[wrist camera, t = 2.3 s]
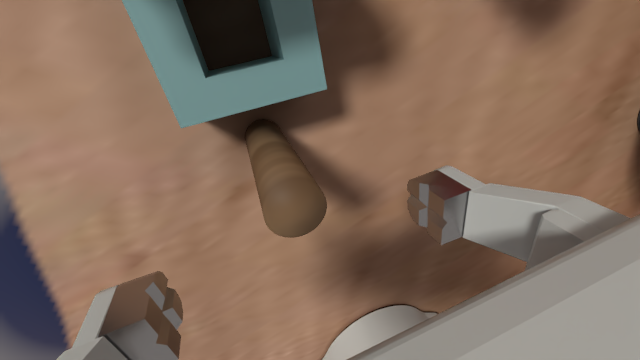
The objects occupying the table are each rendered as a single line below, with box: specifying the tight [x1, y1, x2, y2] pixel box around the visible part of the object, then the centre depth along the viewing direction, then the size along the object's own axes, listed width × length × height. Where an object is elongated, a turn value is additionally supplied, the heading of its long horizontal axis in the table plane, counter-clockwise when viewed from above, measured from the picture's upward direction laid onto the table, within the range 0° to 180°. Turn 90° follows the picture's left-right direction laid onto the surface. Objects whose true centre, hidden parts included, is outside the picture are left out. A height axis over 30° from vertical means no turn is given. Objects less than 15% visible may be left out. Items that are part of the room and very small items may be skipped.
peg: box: [245, 119, 327, 237], centre depth 15 cm, size 3×3×10 cm
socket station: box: [122, 0, 327, 128], centre depth 12 cm, size 9×10×9 cm
